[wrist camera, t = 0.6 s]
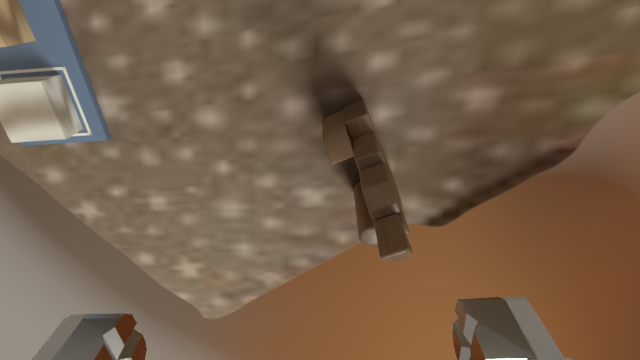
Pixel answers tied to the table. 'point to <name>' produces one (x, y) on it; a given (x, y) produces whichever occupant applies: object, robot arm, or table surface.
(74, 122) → the base block
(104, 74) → the table surface
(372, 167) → the wooden toy
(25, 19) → the oak cube
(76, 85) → the board
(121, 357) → the robot arm
